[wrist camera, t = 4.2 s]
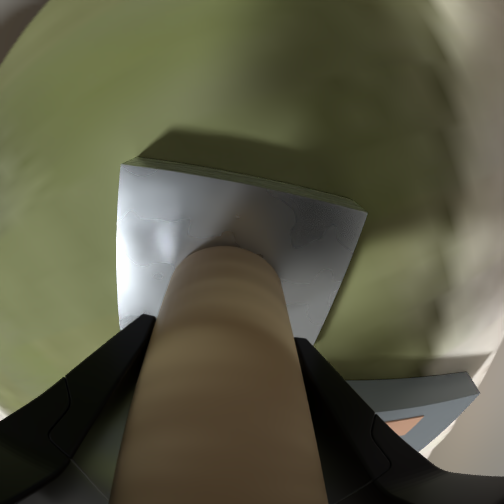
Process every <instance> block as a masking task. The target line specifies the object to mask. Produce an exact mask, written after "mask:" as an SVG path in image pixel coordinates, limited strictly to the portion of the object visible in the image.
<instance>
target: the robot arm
mask: <svg viewBox="0 0 504 504" xmlns="http://www.w3.org/2000/svg"><path fill="white" fill-rule="evenodd" d="M155 322H156V317H155V316H153V315H148V314H141V315H140V316H139V317H137V318H136V319H135V320H134V321H132V322H131V323H130V324H128V325H127V326H126V327H125V328H123V329H122V330H121V331H120V332H118V333H117V334H116V335H115V336H113V337H112V338H111V339H110V340H108V341H107V342H106V343H105V344H103V345H102V346H101V347H100V348H98V349H97V350H96V351H95V352H94V353H92V354H91V355H90V356H89V357H87V358H86V359H85V360H84V361H82V362H81V363H80V364H79V365H78V366H76V367H75V368H74V369H73V370H71V371H70V372H69V373H68V374H67V375H65V377H63V378H62V379H60V380H59V381H58V382H57V383H55V384H54V385H53V386H52V387H50V388H49V389H48V390H46V391H45V392H44V393H43V394H41V395H40V396H38V397H37V398H35V399H34V400H32V401H31V402H30V403H28V404H26V405H25V406H23V407H22V408H20V409H19V410H17V411H15V412H14V413H12V414H11V415H9V416H8V417H6V418H4V419H3V420H1V421H0V504H109V499H110V493H111V488H112V483H113V478H114V473H115V468H116V463H117V459H118V454H119V450H120V446H121V441H122V437H123V433H124V429H125V425H126V421H127V417H128V413H129V409H130V406H131V402H132V398H133V395H134V391H135V387H136V384H137V380H138V377H139V373H140V370H141V367H142V363H143V360H144V357H145V353H146V350H147V347H148V344H149V341H150V337H151V334H152V331H153V328H154V325H155ZM294 341H295V345H296V350H297V354H298V358H299V363H300V367H301V372H302V377H303V381H304V386H305V390H306V395H307V400H308V404H309V409H310V414H311V418H312V423H313V428H314V433H315V438H316V443H317V448H318V452H319V457H320V462H321V468H322V473H323V478H324V483H325V488H326V493H327V499H328V504H504V477H498V476H481V475H470V474H469V475H468V474H461V473H453V472H448V471H444V470H442V469H440V468H438V467H437V466H435V465H434V464H432V463H431V462H430V461H428V460H427V459H426V458H425V457H424V456H422V455H421V454H420V453H419V452H418V451H416V450H415V449H414V448H413V447H411V446H410V445H409V444H408V443H407V442H406V441H404V440H403V439H402V438H401V437H400V436H399V435H398V434H397V433H395V432H394V431H393V430H392V429H391V428H390V427H389V426H388V425H387V424H386V423H385V422H384V421H383V420H382V419H381V418H380V417H379V415H378V414H375V411H374V410H373V409H372V408H371V407H370V406H369V405H368V404H367V403H366V402H365V401H364V400H363V399H362V398H361V397H360V396H359V395H358V393H357V392H356V391H355V390H354V389H353V388H352V387H351V386H350V385H349V384H348V383H347V382H346V381H345V380H344V379H343V377H342V376H341V375H340V374H339V373H338V372H337V371H336V370H335V369H334V368H333V367H332V366H331V365H330V363H329V362H328V361H327V360H326V359H325V358H324V357H323V356H322V355H321V354H320V353H319V352H318V351H317V349H316V348H315V347H314V346H313V345H312V344H311V343H310V342H309V341H308V340H307V339H306V338H300V337H294Z"/></svg>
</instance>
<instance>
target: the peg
mask: <svg viewBox="0 0 504 504" xmlns="http://www.w3.org/2000/svg"><path fill="white" fill-rule="evenodd" d="M109 504H328V499H327V493H326V488H325V483H324V478H323V473H322V468H321V462H320V457H319V452H318V448H317V443H316V438H315V433H314V428H313V423H312V418H311V414H310V409H309V404H308V400H307V395H306V390H305V386H304V381H303V377H302V372H301V367H300V363H299V358H298V354H297V350H296V345H295V341H294V336H293V332H292V328H291V323H290V319H289V315H288V310H287V306H286V302H285V298H284V293H283V289H282V285H281V281H280V279H279V276H278V275H277V273H276V271H275V270H274V269H273V267H272V266H271V265H270V264H269V263H268V262H267V261H266V260H264V259H263V258H262V257H260V256H259V255H257V254H255V253H253V252H251V251H248V250H245V249H242V248H238V247H231V246H216V247H210V248H206V249H202V250H200V251H197V252H195V253H193V254H191V255H189V256H188V257H187V258H185V259H184V260H183V261H182V262H181V263H180V264H179V265H178V266H177V268H176V269H175V270H174V272H173V274H172V276H171V279H170V281H169V284H168V287H167V290H166V293H165V296H164V298H163V301H162V304H161V307H160V310H159V313H158V316H157V319H156V322H155V325H154V328H153V331H152V334H151V337H150V341H149V344H148V347H147V350H146V353H145V357H144V360H143V363H142V367H141V370H140V373H139V377H138V380H137V384H136V387H135V391H134V395H133V398H132V402H131V406H130V409H129V413H128V417H127V421H126V425H125V429H124V433H123V437H122V441H121V446H120V450H119V454H118V459H117V463H116V468H115V473H114V478H113V483H112V488H111V493H110V499H109Z"/></svg>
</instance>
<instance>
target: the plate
mask: <svg viewBox="0 0 504 504" xmlns="http://www.w3.org/2000/svg"><path fill="white" fill-rule="evenodd" d="M367 214H368V213H367V212H366V211H365V210H364V209H363V208H362V207H360V206H359V205H358V204H357V203H356V202H354V201H353V200H352V199H348V198H344V197H340V196H337V195H333V194H329V193H325V192H321V191H317V190H313V189H309V188H305V187H301V186H296V185H292V184H288V183H283V182H279V181H274V180H270V179H265V178H260V177H256V176H251V175H246V174H241V173H235V172H230V171H225V170H219V169H214V168H208V167H202V166H196V165H190V164H184V163H178V162H171V161H164V160H157V159H149V158H142V157H135V158H133V159H131V160H129V161H127V162H125V163H123V164H121V169H120V180H119V193H118V211H117V292H118V310H119V323H120V331H121V330H122V329H123V328H125V327H126V326H127V325H128V324H130V323H131V322H132V321H134V320H135V319H136V318H137V317H139V316H140V315H141V314H148V315H153V316H155V317H156V319H157V316H158V313H159V310H160V307H161V304H162V301H163V298H164V296H165V293H166V290H167V287H168V284H169V281H170V279H171V276H172V274H173V272H174V270H175V269H176V268H177V266H178V265H179V264H180V263H181V262H182V261H183V260H184V259H185V258H187V257H188V256H189V255H191V254H193V253H195V252H197V251H200V250H202V249H206V248H210V247H216V246H231V247H238V248H242V249H245V250H248V251H251V252H253V253H255V254H257V255H259V256H260V257H262V258H263V259H264V260H266V261H267V262H268V263H269V264H270V265H271V266H272V267H273V269H274V270H275V271H276V273H277V275H278V276H279V279H280V281H281V285H282V289H283V293H284V298H285V302H286V306H287V310H288V315H289V319H290V323H291V328H292V332H293V336H294V337H300V338H306V339H307V340H308V341H309V342H310V343H311V344H312V345H314V343H315V340H316V338H317V336H318V334H319V332H320V330H321V328H322V326H323V323H324V321H325V319H326V317H327V315H328V312H329V310H330V308H331V306H332V303H333V301H334V299H335V296H336V294H337V292H338V289H339V287H340V285H341V282H342V280H343V277H344V275H345V273H346V270H347V268H348V265H349V263H350V260H351V258H352V255H353V252H354V250H355V247H356V245H357V242H358V239H359V236H360V234H361V231H362V228H363V226H364V223H365V220H366V217H367Z"/></svg>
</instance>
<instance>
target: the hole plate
mask: <svg viewBox="0 0 504 504" xmlns="http://www.w3.org/2000/svg"><path fill="white" fill-rule="evenodd" d="M346 382H347V383H348V384H349V385H350V386H351V387H352V388H353V389H354V390H355V391H356V392H357V393H358V395H359V396H360V397H361V398H362V399H363V400H364V401H365V402H366V403H367V404H368V405H369V406H370V407H371V408H372V409H373V410H374V411H375V414H378V415H379V417H380V418H381V419H382V420H383V421H384V422H385V423H386V424H387V425H388V426H389V427H390V428H391V429H392V430H393V431H394V432H395V433H397V434H398V435H399V436H400V437H401V438H402V439H403V440H404V441H406V442H407V443H408V444H409V445H410V446H411V447H413V448H414V449H415V450H416V451H418V452H419V451H420V450H422V449H423V448H424V447H425V446H426V445H428V444H429V443H430V442H431V441H432V440H433V439H435V438H436V437H437V436H438V435H439V434H440V433H441V432H442V431H443V430H445V429H446V428H447V427H448V426H449V425H450V424H451V423H452V422H453V421H454V420H455V419H456V418H457V417H458V416H459V415H460V414H461V413H462V412H463V411H464V410H465V409H466V408H467V407H468V406H469V405H470V404H471V403H472V401H474V399H475V398H476V397H477V396H478V395H479V393H480V392H479V390H478V389H477V387H476V385H475V384H474V382H473V381H472V379H471V377H470V376H469V374H468V373H467V372H461V373H454V374H446V375H438V376H428V377H417V378H404V379H387V380H350V381H346Z"/></svg>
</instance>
